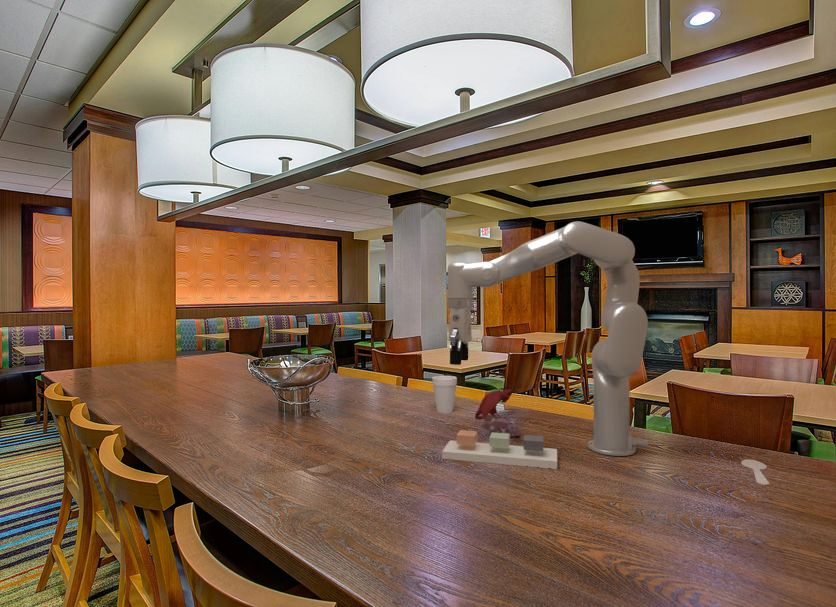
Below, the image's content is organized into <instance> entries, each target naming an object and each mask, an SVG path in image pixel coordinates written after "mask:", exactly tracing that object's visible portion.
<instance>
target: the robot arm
mask: <svg viewBox="0 0 836 607" xmlns="http://www.w3.org/2000/svg"><path fill="white" fill-rule="evenodd" d="M635 253H636V248H635V245H634V243H633V241H632V240H630V238H629V237H627V236H625V235H623V234H620V233H618V232H614V231H612V230H608V229H605V228H602V227H600V226H597V225H593V224H590V223H587V222H584V221H580V220H579V221H572V222H570V223H567V224H566V225H565V226H563V227H561V228H558V229H556V230H554V231H551V232H548V233H546V234H544V235H541V236H539V237H537V238H534V239H531V240H529V241H527V242H525V243H523V244H521V245H519V246H518V247H517V248H515V249H514V250H511V251H510V252H508V253H505V254H504V255H501V256H499V257H497V258H494V259H492V260H489V261H479V262H478V261H477V262H461V261H458V262H455V261H454V262H451V263H449V264H448V265H447V277H446V278H447V281H446V282H447V290H446V292H447V294H446V295H447V296H446V297H447V301H446V309H447V310H449V327H448V339H449V341H448V342H450V343H449V344H450V346H449V365H455V366H460V365H461V364H462V361H468V360H469V343H470V342H471V341H472V315H471V310H473V308H474V306H473V304H474V302H473V301H474V287H480V288H483V289H484V288H485V289H488V288H491V287H493V286H496V285H499V284H501V283H503V282H505V281H508V280H510V279H514V278H516V277H518V276H521V275H524V274H529V273H532V272H535V271H538V270H540V269H542V268H545V267H548V266H550V265H553V264H554V263H557V262H560V261H562V260H565V259H567V258H569V257H572V256H574V255H577V254H580V255H582V256H584V257H586V258H590V259H593V261H594V264H596V265H597V266H598V267H599V268H600V269H601V270H602V271H603V273H604V275H605V277H606V288H605V289H606V290H605V296H604V302H603V306H602V311H601V317H600V321H601V322H600V323H601V326H602V328H603V329H604V330H605V331H607V338H604V339H601V340H599V341H598V342H596V344H595V345H594V346H593V348H592V351H591V369H592V378H593V380H592V381H593V439H590V440H589V441H588V442H587V447H588V449H589V450H590V451H592V452H595V453H598V454H602V455H605V456H614V457H625V456H627V457H629V456H632V455H634V454H635V453H636V449H637V448H636V447H638V446H640V447H649V440H648V439H643V438H642V437H639V436H638V437H633V435H632V434H631V433H630V424H631V423H630V422H631V420H630V397H631V396H630V391H631V390H630V388H631V386H630V379H629V378H630V377H631V376H632V375H634V374H635V373H636V372H637V371H638V370H639V368H640V366H641V363H642V359H643V354H644V348H645V345H646V344H645V343H646V339H647V332H648V323H649V321H648V315H647V313H646V311H645V309H644V308H643V306H642V305H639V304H638V300H639V292H640V285H641V284H640V283H641V281H640V274H639V271H638V268H637V265H636V264H635V263H634V261H633V258H634V257H635Z"/></svg>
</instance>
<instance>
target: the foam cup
mask: <svg viewBox="0 0 836 607" xmlns="http://www.w3.org/2000/svg"><path fill="white" fill-rule="evenodd" d="M457 384H458V378H457V376H453V375H434V376H432V386H433V394H434V400H435V401H434V402H435V408H436V413H438V412H439V414H451V412H452V413H453V412H454V409H455V408H454V406H455V398H456V390H457Z"/></svg>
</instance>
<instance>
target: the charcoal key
mask: <svg viewBox="0 0 836 607" xmlns="http://www.w3.org/2000/svg"><path fill="white" fill-rule="evenodd" d="M544 440H545V439H544V435H531V434H524V437H523V446H524V450H534V451H543V448H544Z"/></svg>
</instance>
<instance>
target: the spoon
mask: <svg viewBox="0 0 836 607" xmlns="http://www.w3.org/2000/svg"><path fill="white" fill-rule="evenodd" d="M740 463H741V465H742V466H743V467H746V468H749V469H752V471H753V473H754V474H753V475H754V478H755V482H756V483H757V484H760V485H764V486H768V485H770V482H769V481H768V480H767V478H766V477H765V475H764V474H763V473H762V471H761V470H766V469H767V468H768V467H767V465H766V464H765V463H763V462H760V461H759V460H755V459H750V458H749V459H747V458H745V459H742V460H741V462H740Z"/></svg>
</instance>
